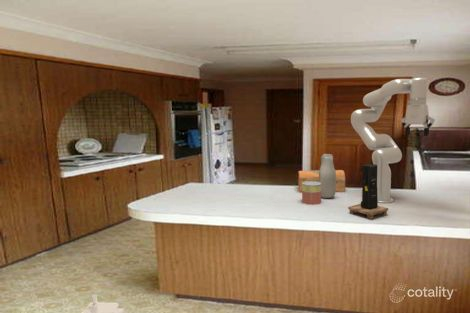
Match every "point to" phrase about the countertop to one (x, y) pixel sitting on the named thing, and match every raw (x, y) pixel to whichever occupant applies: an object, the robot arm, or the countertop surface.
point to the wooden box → (314, 176)
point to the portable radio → (369, 186)
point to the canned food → (311, 192)
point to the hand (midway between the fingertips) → (416, 135)
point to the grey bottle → (327, 176)
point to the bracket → (102, 307)
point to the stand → (368, 210)
